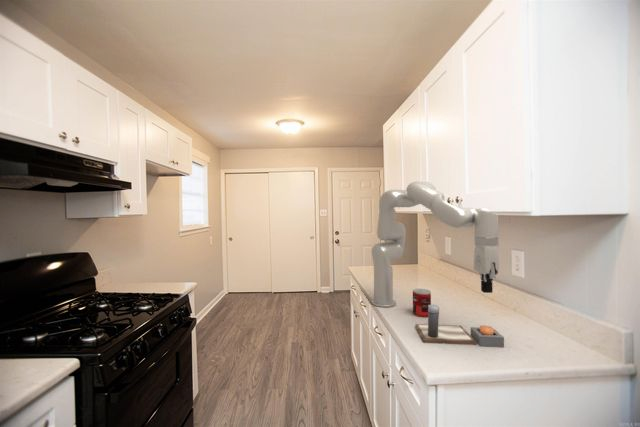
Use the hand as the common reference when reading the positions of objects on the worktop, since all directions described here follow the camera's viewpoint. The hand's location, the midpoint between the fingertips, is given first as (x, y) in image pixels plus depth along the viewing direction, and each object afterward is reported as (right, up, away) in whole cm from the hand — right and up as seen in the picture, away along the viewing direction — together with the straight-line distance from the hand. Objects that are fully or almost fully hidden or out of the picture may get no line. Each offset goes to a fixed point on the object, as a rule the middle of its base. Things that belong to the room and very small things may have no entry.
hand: (486, 291), depth 104 cm
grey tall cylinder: (-19, -17, +3) cm, 25 cm away
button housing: (0, -18, 0) cm, 18 cm away
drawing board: (-13, -18, +6) cm, 23 cm away
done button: (0, -16, 0) cm, 16 cm away
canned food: (-14, -18, +28) cm, 36 cm away
